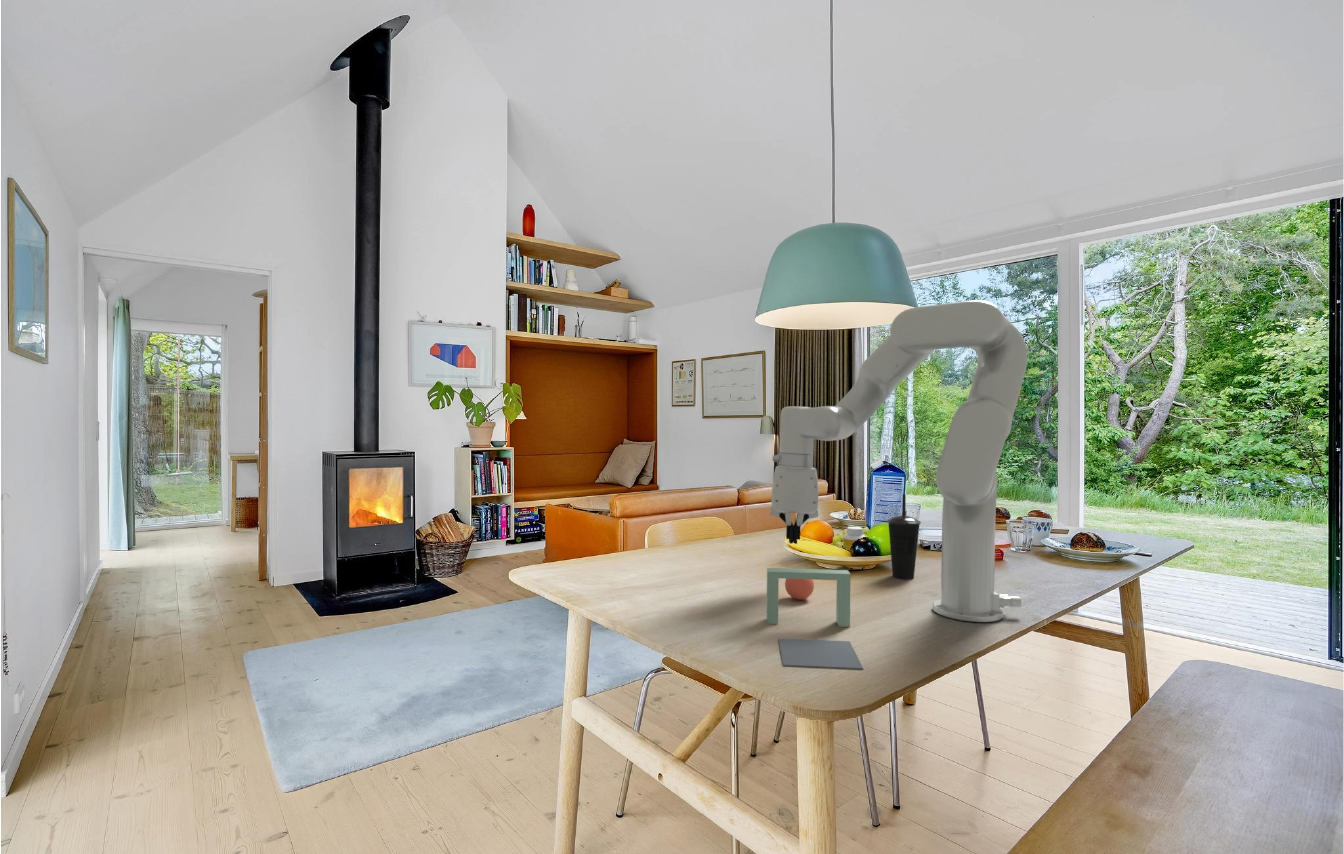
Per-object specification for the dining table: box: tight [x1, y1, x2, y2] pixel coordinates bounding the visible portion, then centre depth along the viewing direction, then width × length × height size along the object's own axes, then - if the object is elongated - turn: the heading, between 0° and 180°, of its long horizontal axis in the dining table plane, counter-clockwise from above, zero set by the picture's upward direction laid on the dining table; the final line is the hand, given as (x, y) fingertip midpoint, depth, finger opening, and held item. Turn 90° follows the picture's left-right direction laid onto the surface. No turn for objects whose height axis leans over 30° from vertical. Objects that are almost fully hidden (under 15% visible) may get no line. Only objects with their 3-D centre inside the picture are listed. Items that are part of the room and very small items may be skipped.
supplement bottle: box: [842, 526, 866, 570], centre depth 166 cm, size 6×6×10 cm
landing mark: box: [777, 637, 864, 671], centre depth 104 cm, size 12×12×1 cm
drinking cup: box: [886, 493, 922, 580], centre depth 156 cm, size 8×8×20 cm
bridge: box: [766, 567, 851, 628], centre depth 120 cm, size 3×15×10 cm, turn 84°
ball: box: [784, 579, 815, 601], centre depth 136 cm, size 6×6×6 cm
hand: (792, 542), depth 145 cm, fingers closed
